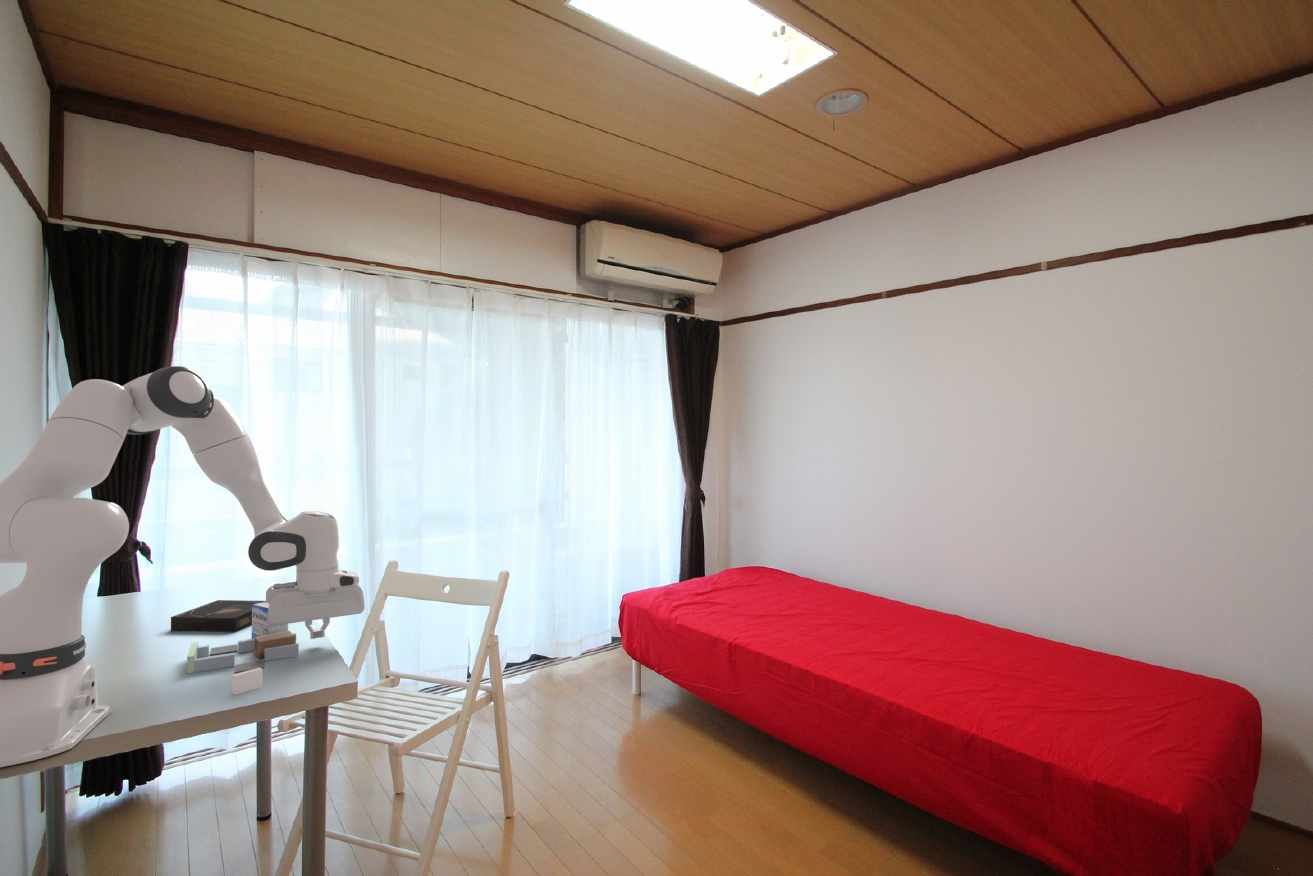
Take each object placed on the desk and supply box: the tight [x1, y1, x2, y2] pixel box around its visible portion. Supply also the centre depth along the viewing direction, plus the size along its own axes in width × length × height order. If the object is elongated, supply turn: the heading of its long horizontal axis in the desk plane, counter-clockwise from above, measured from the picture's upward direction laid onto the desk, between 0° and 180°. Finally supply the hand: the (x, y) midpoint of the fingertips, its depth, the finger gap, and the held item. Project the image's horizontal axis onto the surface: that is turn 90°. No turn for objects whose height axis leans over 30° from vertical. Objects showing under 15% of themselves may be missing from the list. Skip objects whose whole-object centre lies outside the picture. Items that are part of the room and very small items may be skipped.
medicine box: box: [250, 602, 289, 639], centre depth 151 cm, size 8×4×9 cm, turn 62°
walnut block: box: [253, 630, 295, 660], centre depth 142 cm, size 5×7×4 cm
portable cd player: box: [170, 599, 267, 633], centre depth 166 cm, size 16×17×4 cm
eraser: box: [231, 668, 264, 695], centre depth 122 cm, size 1×5×4 cm, turn 142°
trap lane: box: [186, 632, 299, 675], centre depth 139 cm, size 20×20×4 cm
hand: (317, 637), depth 147 cm, fingers closed
